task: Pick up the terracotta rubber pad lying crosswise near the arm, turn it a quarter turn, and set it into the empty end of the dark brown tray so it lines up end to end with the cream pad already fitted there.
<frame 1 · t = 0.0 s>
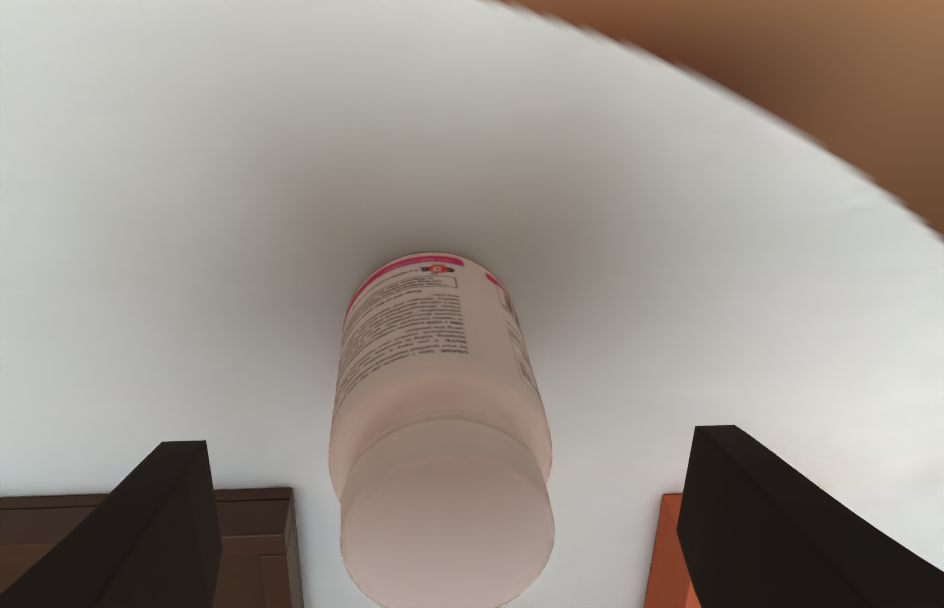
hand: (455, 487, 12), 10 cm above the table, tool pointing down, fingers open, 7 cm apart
pill bottle: (430, 323, 22), on the table
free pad: (717, 581, 27), on the table
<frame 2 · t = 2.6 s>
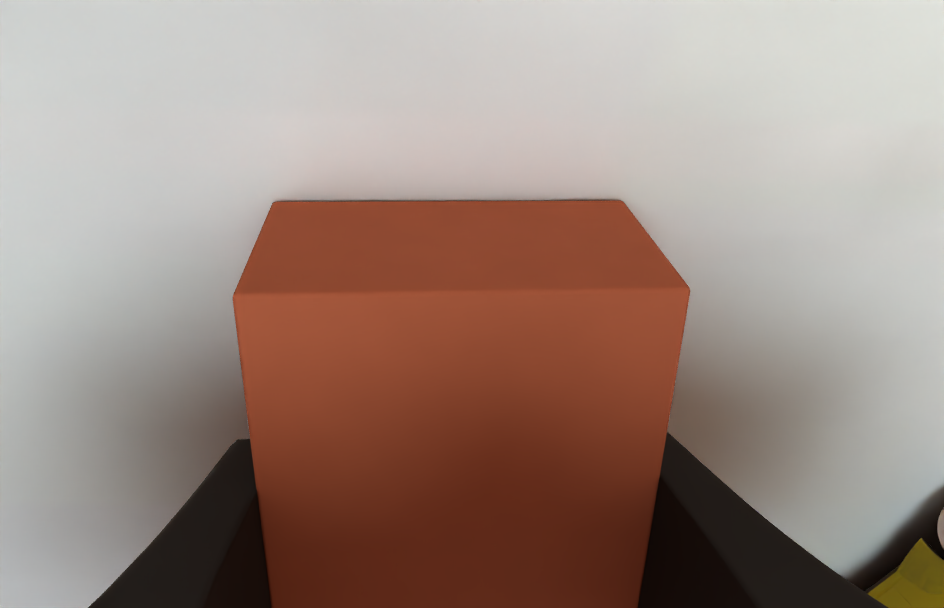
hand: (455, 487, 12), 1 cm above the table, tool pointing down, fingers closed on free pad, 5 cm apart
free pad: (447, 431, 13), on the table, touching gripper
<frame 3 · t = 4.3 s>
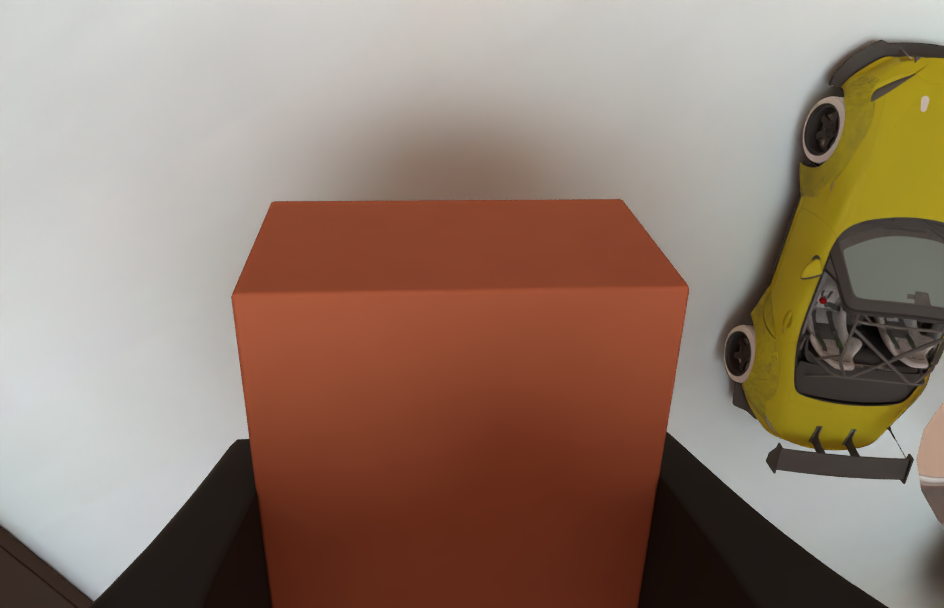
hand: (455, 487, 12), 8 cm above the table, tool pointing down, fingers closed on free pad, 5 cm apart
toy car: (847, 246, 20), on the table, touching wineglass
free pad: (447, 430, 13), point 7 cm above the table, touching gripper
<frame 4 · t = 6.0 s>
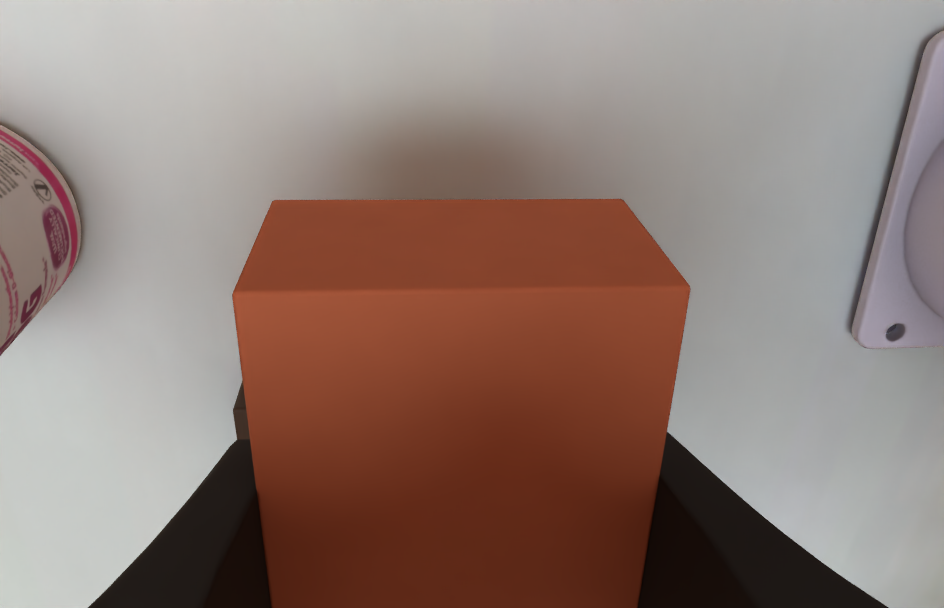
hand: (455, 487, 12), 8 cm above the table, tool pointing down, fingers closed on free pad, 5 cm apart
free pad: (447, 430, 13), point 7 cm above the table, touching gripper
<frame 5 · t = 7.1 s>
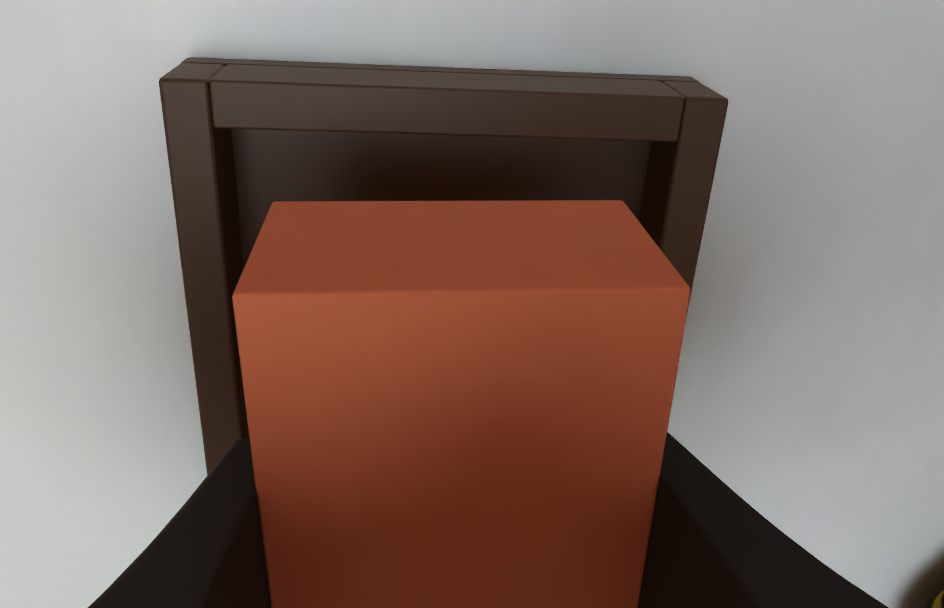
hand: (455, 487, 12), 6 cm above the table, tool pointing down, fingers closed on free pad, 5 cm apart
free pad: (447, 431, 13), point 5 cm above the table, touching gripper
dark brown tray: (432, 477, 19), on the table
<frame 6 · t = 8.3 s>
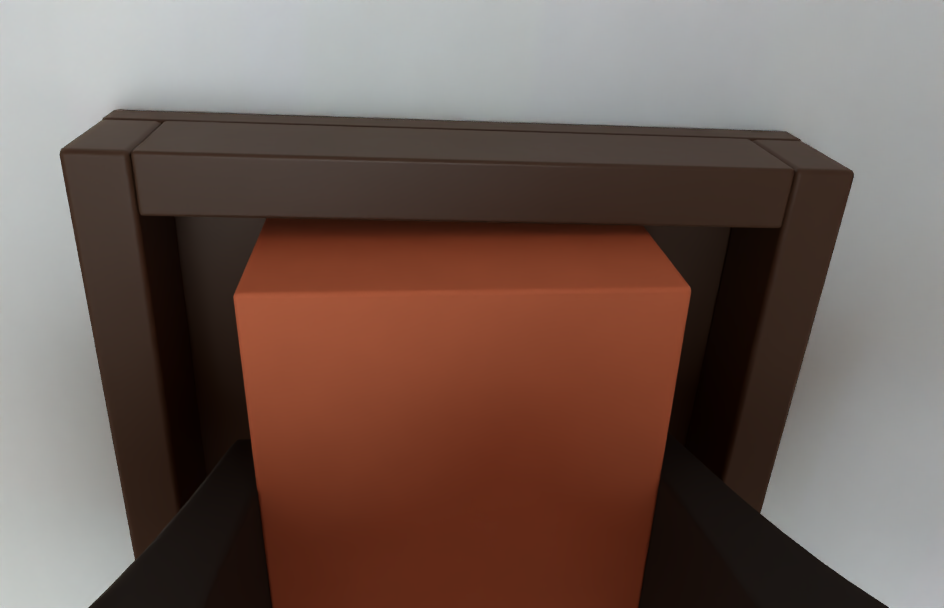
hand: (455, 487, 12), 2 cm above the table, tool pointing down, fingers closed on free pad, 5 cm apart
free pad: (448, 430, 13), resting on dark brown tray, touching gripper
when the fingers open (2 cm above the table, at t = 8.7 s): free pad stays where it is, resting on dark brown tray.
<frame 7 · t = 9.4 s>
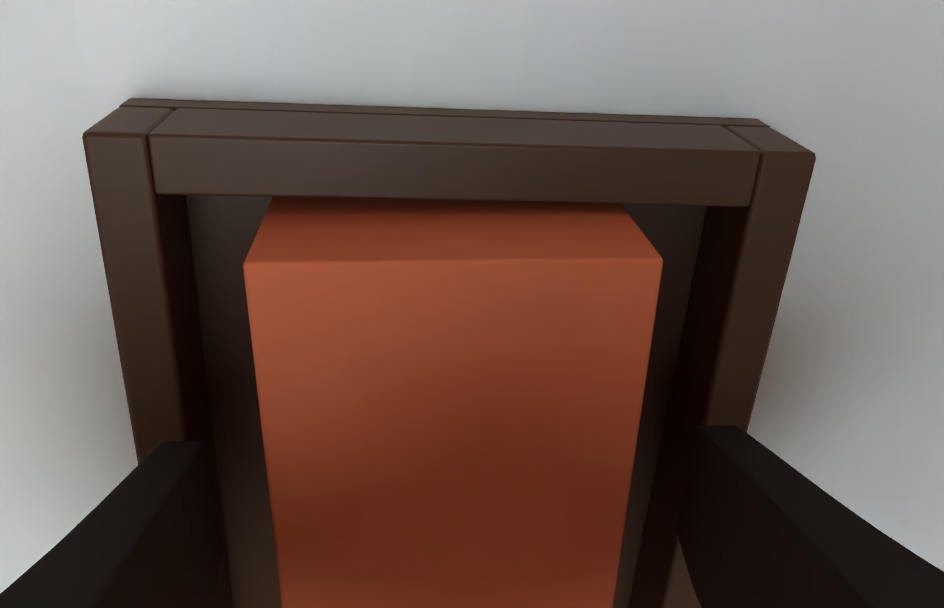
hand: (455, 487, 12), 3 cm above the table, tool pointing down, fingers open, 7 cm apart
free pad: (442, 403, 14), resting on dark brown tray
dark brown tray: (436, 583, 16), on the table
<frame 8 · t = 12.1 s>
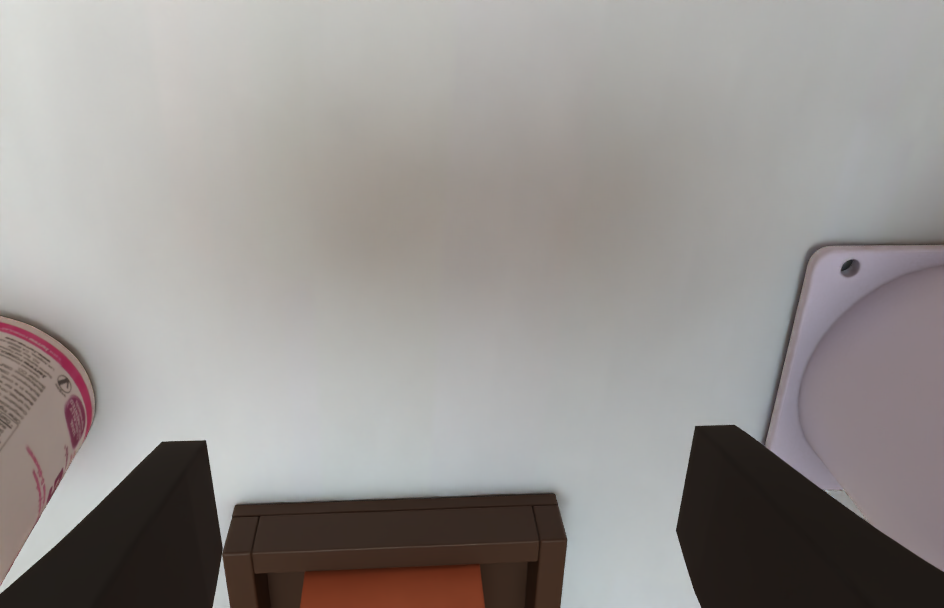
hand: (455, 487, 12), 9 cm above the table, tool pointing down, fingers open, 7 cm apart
pill bottle: (9, 385, 21), on the table
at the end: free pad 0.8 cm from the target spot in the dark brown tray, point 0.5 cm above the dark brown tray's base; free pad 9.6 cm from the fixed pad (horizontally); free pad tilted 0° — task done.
